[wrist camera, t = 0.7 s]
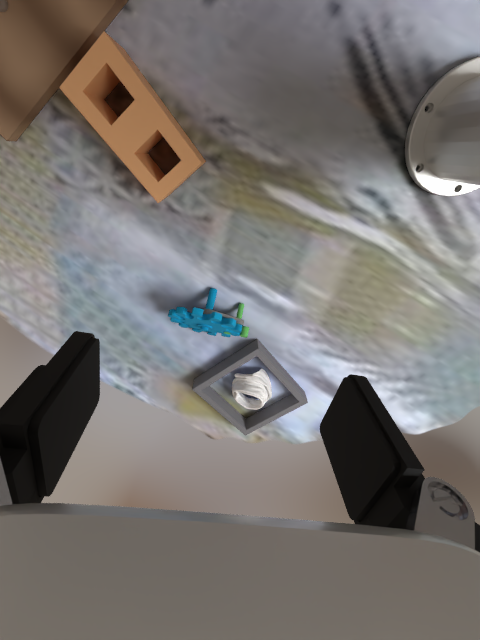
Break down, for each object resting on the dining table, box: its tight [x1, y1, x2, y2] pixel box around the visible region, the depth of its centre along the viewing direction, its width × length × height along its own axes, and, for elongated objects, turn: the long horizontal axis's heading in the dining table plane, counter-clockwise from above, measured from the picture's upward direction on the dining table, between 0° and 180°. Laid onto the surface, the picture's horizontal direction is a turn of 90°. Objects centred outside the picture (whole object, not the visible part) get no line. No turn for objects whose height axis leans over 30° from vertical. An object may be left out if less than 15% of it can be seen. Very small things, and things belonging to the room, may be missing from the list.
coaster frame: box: [192, 339, 308, 435], centre depth 49 cm, size 13×14×2 cm
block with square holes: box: [59, 31, 206, 203], centre depth 29 cm, size 12×6×5 cm, turn 38°
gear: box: [168, 288, 249, 337], centre depth 40 cm, size 11×6×10 cm
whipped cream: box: [232, 368, 272, 410], centre depth 48 cm, size 8×7×5 cm
